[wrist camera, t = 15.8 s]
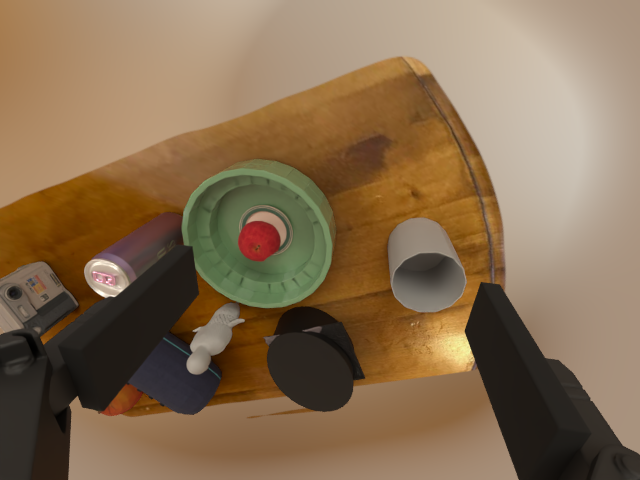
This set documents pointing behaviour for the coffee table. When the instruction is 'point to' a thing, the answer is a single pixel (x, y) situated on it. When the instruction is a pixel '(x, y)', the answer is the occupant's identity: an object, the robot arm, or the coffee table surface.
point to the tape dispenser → (313, 359)
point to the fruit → (123, 401)
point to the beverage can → (133, 254)
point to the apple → (264, 233)
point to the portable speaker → (175, 378)
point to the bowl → (223, 231)
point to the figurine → (213, 337)
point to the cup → (424, 266)
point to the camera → (33, 299)
